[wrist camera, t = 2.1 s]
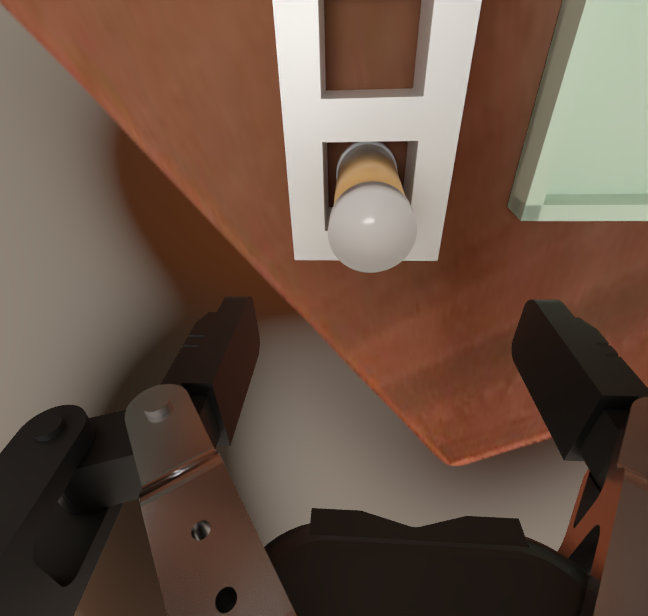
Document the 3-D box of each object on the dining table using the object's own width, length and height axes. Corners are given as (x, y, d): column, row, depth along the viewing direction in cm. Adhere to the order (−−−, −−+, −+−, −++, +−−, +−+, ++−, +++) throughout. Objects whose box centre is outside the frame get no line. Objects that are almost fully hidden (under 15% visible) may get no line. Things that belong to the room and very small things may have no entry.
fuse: (336, 138, 23) (326, 190, 15) (398, 137, 23) (422, 190, 15) (337, 198, 25) (328, 272, 17) (393, 198, 25) (411, 273, 17)
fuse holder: (280, -79, 18) (263, -106, 14) (474, -90, 17) (502, -122, 14) (301, 233, 27) (294, 260, 24) (427, 234, 26) (437, 261, 23)
